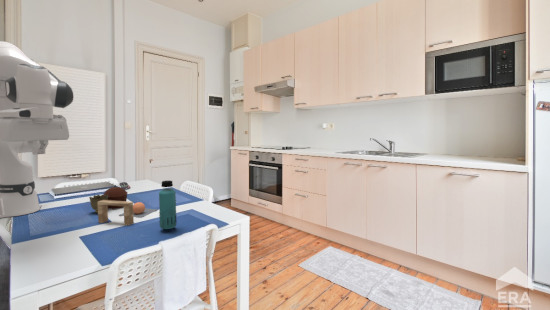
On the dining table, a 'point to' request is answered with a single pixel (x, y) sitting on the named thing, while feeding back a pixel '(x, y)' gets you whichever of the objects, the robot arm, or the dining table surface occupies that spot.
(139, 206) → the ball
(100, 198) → the cup
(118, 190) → the muffin
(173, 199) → the beverage bottle
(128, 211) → the bridge
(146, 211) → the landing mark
